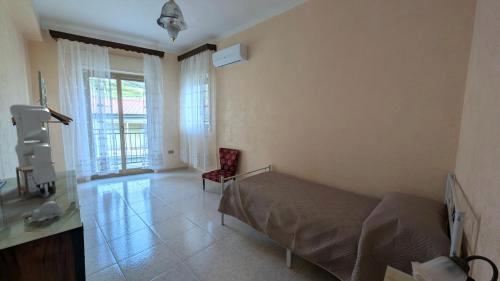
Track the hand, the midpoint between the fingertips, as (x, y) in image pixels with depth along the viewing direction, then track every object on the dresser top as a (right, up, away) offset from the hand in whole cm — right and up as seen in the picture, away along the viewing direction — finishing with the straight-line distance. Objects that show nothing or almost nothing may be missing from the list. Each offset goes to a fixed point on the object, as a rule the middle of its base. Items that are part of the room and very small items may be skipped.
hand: (46, 192), depth 135 cm
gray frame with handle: (-8, -2, +4) cm, 9 cm away
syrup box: (-12, -2, +6) cm, 13 cm away
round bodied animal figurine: (+25, -7, -26) cm, 37 cm away
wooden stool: (-12, -2, +6) cm, 13 cm away
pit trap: (-23, -1, +12) cm, 26 cm away
